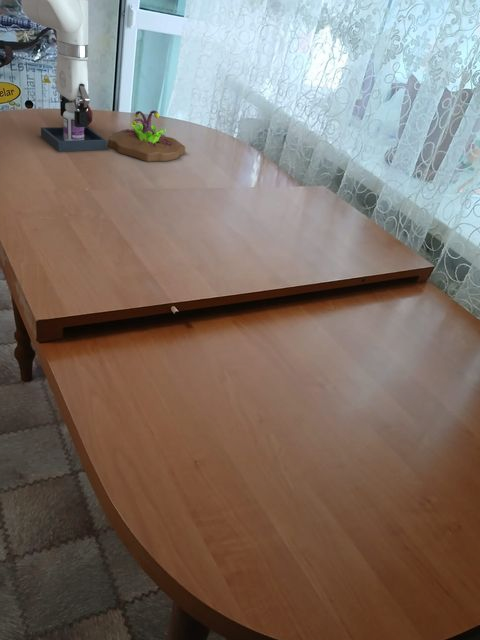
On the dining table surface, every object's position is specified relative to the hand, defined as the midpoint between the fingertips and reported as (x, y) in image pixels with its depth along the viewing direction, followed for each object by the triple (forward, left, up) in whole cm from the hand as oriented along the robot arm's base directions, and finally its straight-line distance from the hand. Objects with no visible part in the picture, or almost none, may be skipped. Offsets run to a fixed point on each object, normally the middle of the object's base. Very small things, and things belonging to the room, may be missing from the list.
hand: (73, 121), depth 148 cm
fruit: (+7, +12, -6) cm, 15 cm away
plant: (+19, -7, -6) cm, 21 cm away
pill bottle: (0, 0, -6) cm, 6 cm away
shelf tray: (0, 0, -6) cm, 6 cm away
